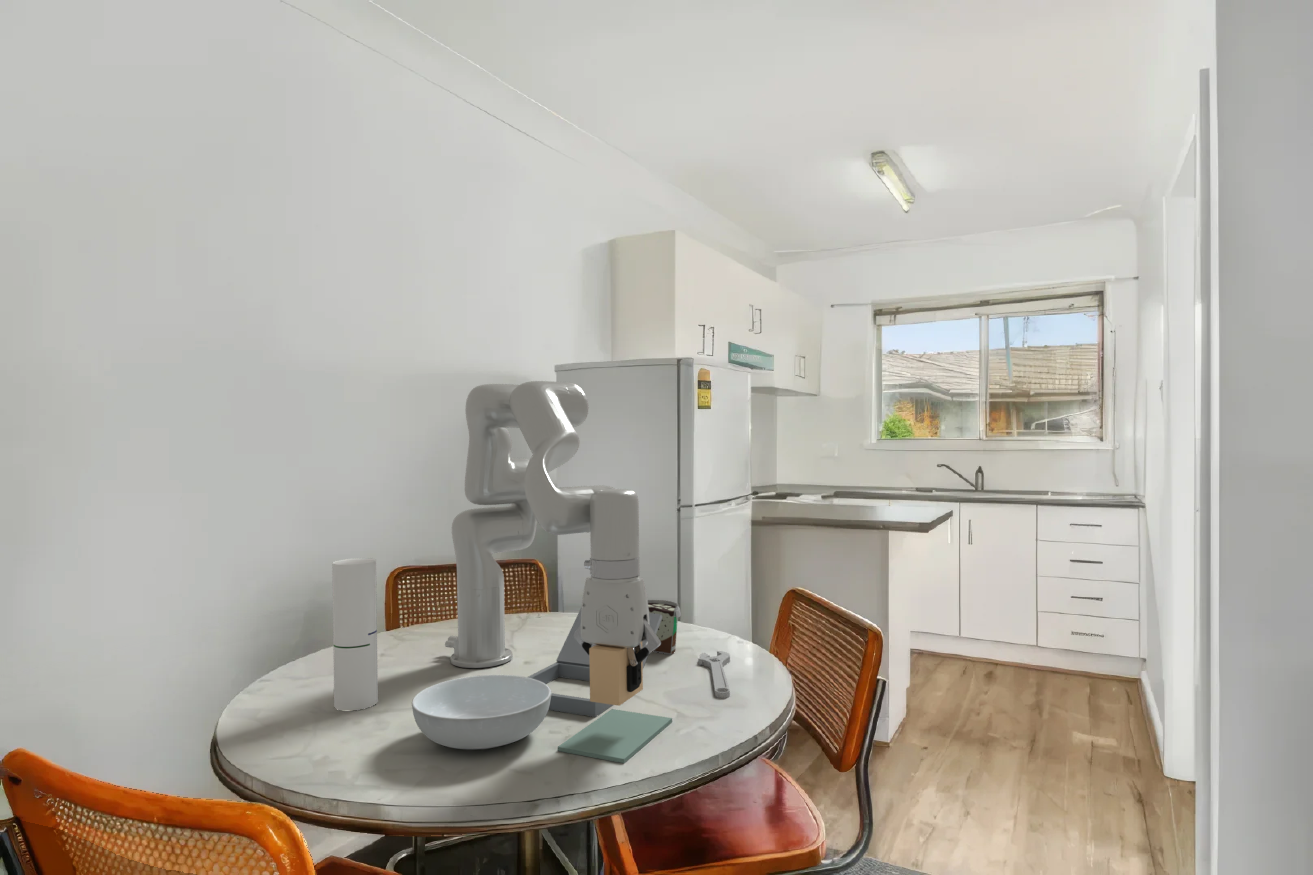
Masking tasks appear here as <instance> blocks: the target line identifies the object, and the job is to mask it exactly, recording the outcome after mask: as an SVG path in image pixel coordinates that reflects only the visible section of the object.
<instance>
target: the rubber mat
mask: <svg viewBox="0 0 1313 875" xmlns="http://www.w3.org/2000/svg"><path fill="white" fill-rule="evenodd" d="M672 722H673V718H672V717H669V716H668V717H667V716H661V715H654V714H648V713H641V712H635V711H628V710H622V709H616V708H612V709H611V708H610V710H608V711H607V712H605V713H604V714H603V715H601V716H600V717H598V718H597V719H595V720H594V721H592V722H591V723H589V725H588V724H587V726H585V727H584V728H582V729H581V730H580V731H578V732H577V733H575V734H574V735H573V736H571V737H570V738H568V739H566V740H565V741H564V742H563V743H561V744H560V745H558V746H557V751H558V752H561V753H566V754H567V753H568V754H571V755H572V754H573V755H578V756H584V757H588V758H594V759H600V760H603V761H604V760H605V761H611V762H614V763H621V764H625V763H626V762H628V761H629V760H630V759H631V758H632V757H634V756H635V755H636V754H637V753H638V752H639V751H640V750H641V749H643V748H644V747H645V746H646V745H647V744H649V743H650V742H651V741H652V740H653V739H654V738H655V737H657V736H658V735H659V734H660V733H661V732H662V731H664V730H665V729H666V728H667V727H668V726H669V725H670V724H672Z"/></svg>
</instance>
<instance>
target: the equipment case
mask: <svg viewBox="0 0 1313 875" xmlns="http://www.w3.org/2000/svg"><path fill="white" fill-rule="evenodd" d="M581 609H582V606H581V607H580V609H579V611H578V613H577V616H576V618H575V619H574V622H573V623H572V624H573V625H572V626H571V627H570V630H569V632H568V634H567V636H566V639H565V641H564V643H563V645H562V647H561V649H560V651H559V653H558V656H557V658H556V660H555V661H556V662H554V663H552V664H550V665H548V666H546V667H544V668H542V669H541V670H538V671H537V672H535V673H533V674H531V675H529V676H527V677H528V678H532V679H535V680H538V681H541V682H543V683H545V684H546V685H547V684H548V683H550V682H553V681H554V680H555V679H557V678H565V679H572V680H578V681H580V680H581V681H587V682H590V659H589V655H588V654H587V652H586V651H585V650H584V649H583V647H582V645H580V643H579V642H578V641H577V640H576V639H575V638H574V636H573V635H574V633H575V632H576V630H577V629H578V627H579V626H580V625H581ZM661 620H662V615H661V614H654V613H649V622H650V627H651V628H652V629H653V631H654V632H655V634H656V633H657V630H658V628H659V625H660V622H661ZM647 643H648V642H647V640H645V641H642V648H644V647H645V646H646V645H647ZM648 657H649V655H648V656H647V657H646V658H645V659H644V660H643V669H644V667H645V664H646V662H647V659H648ZM612 706H613V705H611V704H604V703H598V702H591V701H590V698H587V697H580V696H574V695H566V694H559V693H552V692H551V700H550V705H549V709H548V711H553V710H554V711H555V712H559V711H560V713H561V712H562V713H567V714H573V715H580V716H584V715H588V716H587V717H591V716H592V718H597V717H598V716H599V715H600V714H602V713H604V712H605V711H607V710H608V709H609V708H610V709H611V707H612ZM603 711H604V712H603ZM597 715H598V716H597Z"/></svg>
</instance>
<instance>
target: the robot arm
mask: <svg viewBox="0 0 1313 875" xmlns="http://www.w3.org/2000/svg"><path fill="white" fill-rule="evenodd" d="M589 408H590V407H589V399H588V397H587V395H586V393H585V392H584V390H583V389H582V387H580V386H579V385H578V384H576V383H573V382H570V381H569V382H568V381H567V382H566V381H551V380H550V381H546V380H545V381H543V380H533V381H532V380H530V381H526V382H523V383H520V384H515V383H514V384H512V383H488V384H480V385H476V386H475V387H473V388H472V389H471V390H470V392H469V393H468V395H467V398H466V402H465V419H466V423H467V424H466V425H467V429H468V438H469V439H468V448H467V458H466V466H465V476H464V495H465V497H466V499H467V500H468V501H469V503H472V504H474V505H479V506H490V507H479V508H478V507H477V508H471V509H466V510H463V511H461V512H459V513H458V514H457V515H456V516H455V517H454V519H453V521H452V523H451V538H452V543H453V548H454V554H455V555H454V556H455V562H456V587H457V589H456V590H457V636H456V635H450V636H448V638H447V640H446V641H445V642H444V646H445V647H446V648H452V649H453V653H452V654H451V656H450V663H451V664H452V665H453V666H456V667H460V668H464V669H479V668H480V669H482V668H489V667H490V668H491V667H495V666H499V665H504V664H506V663H508V662H510V661H511V660H512V658H514V657H513V651H512V650H511V649H510V648H507V647H506V643H505V642H506V639H505V638H506V637H505V636H506V634H505V633H506V632H505V577H504V572H503V569H502V568H501V566H500V564H499V563H498V562H497V561H496V560H495V559H494V556H493V554H498V553H504V552H513V551H520V550H525V549H527V548H528V547H530V546H531V545H532V543H534V540H535V537H536V533H537V532H536V530H537V525H539V526H540V527H541V528H542V530H544V531H545V532H546V533H548V534H550V535H553V536H564V535H574V534H583V533H586V534H587V533H589V534H590V535H589V536H590V538H589V539H590V543H589V544H590V557H589V559H586V560H584V563H583V567H584V569H587V570H589V574H590V576H589V577H586V579H585V581H584V582H585V583H584V587H583V592H582V601H581V607H582V609H581V608H580V609H581V625H580V626H579V627H578V629H577V630H576V632H575V633H574V635H573V636H574V638H575V639H576V640H577V641H578V642H579V643H580V645H582V647H583V649H584V650H585V651H586V652H587V654H588V655H589V648H591V647H593V646H595V645H605V646H614V647H623V648H627V654H628V658H629V662H630V665H628V666H627V691H628V692H633V691H634V690H636V689H637V688H638V687H639V686H640V684H641V680H642V677H641V662H642V661H643V660H644V659H645V658H646V657H647V656H648V657H649V655H650V654H651V653H653V652H652V651H653V650H655V649H656V648H657V647H659V646H660V645H661V641H660V640H659V638H658V637H657V635H656V634H655V632H654V631H653V629H652V628H651V627H650V622H649V608H648V600H649V599H648V594H647V589H646V585H645V580H644V578H643V577H641V576H640V572H641V571H640V568H641V567H640V527H639V526H640V520H639V518H640V516H639V515H640V514H639V512H640V511H639V510H640V507H639V497H638V494H637V493H636V492H635V491H634V490H633V489H626V488H615V487H612V486H610V485H604V484H603V485H599V484H598V485H580V486H575V485H574V486H562V487H561V486H560V487H557V486H555V485H554V483H553V481H552V479H551V477H550V475H549V474H548V473H550V472H552V471H554V470H556V469H558V468H560V467H561V466H564V465H565V464H566V463H568V462H569V461H570V460H572V458H573V457H575V455H576V454H577V452H578V450H579V448H580V438H579V434H578V433H577V431H576V430H575V428H577V427H579V426H581V425H582V424H584V422H586V419H587V417H588V414H589ZM508 428H511V429H512V428H514V429H515V428H516V429H519V430H520V432H521V433H522V436H523V438H524V440H525V442H526V444H527V446H528V449H530V452H531V454H532V456H531V457H530V459H529V458H525V457H511V455H512V454H511V452H512V445H513V442H512V441H513V440H512V436H511V434H510V432H509V429H508ZM492 505H493V506H494V505H495V506H496V505H508V506H498V507H491V506H492ZM509 505H510V506H509ZM645 640H647V642H648V643H647V645H646V646H645V647H644V648H642V646H641V641H645ZM648 657H647V658H648ZM589 659H590V657H589Z"/></svg>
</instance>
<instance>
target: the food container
mask: <svg viewBox="0 0 1313 875" xmlns="http://www.w3.org/2000/svg"><path fill="white" fill-rule="evenodd" d="M647 600H648V608H649V613H654V614H661V615H662V620H661V622H660V625H659V628H658V630H657V633H656V635H657V637H658V638H659V640H660V641H661V645H660V646H659V647H657V648H656V649H655V650H653V652H652V653H657V652H659V653H658V654H663V653H664V655H670V656H672V655H674V654H675V653H676V646H677V635H678V634H677V631H678V622H679V621H678V619H679V618H680V617H681V616H682V613H681V608H680V606H679V604H678V603H677V602H675V601H672V600H664V599H647ZM674 652H675V653H674Z"/></svg>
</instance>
